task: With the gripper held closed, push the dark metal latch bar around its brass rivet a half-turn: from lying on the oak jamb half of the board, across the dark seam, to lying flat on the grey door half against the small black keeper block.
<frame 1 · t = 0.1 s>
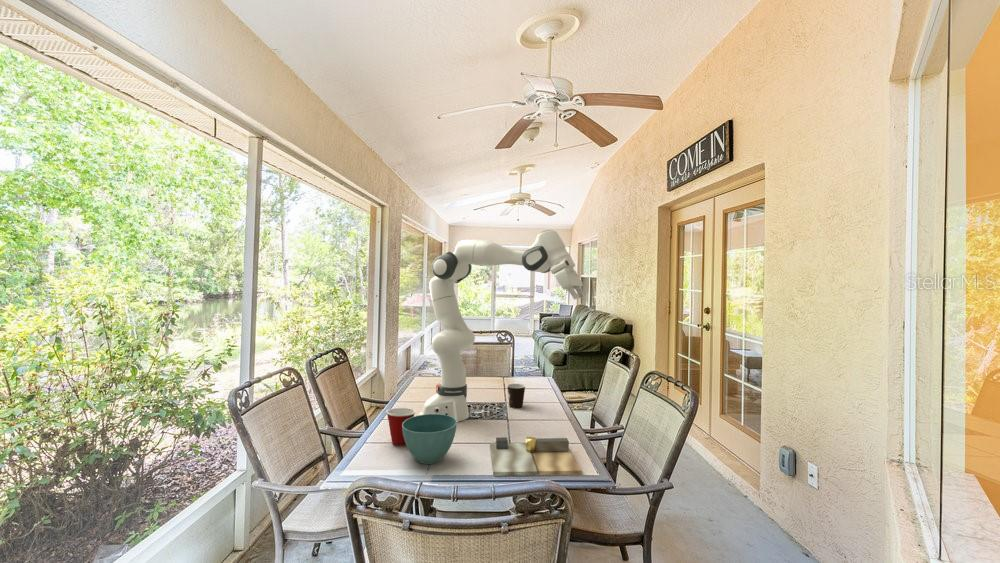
hand: (579, 298, 155), 54 cm above the table, tool tilted 30°, fingers open, 8 cm apart
keeper: (501, 450, 143), resting on door board
latch bar: (546, 444, 140), point 3 cm above the table, hinge at 0.0°
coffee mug: (516, 406, 195), on the table
plastic cup: (400, 443, 149), on the table
plant pot: (429, 459, 136), on the table
door board: (532, 459, 136), on the table
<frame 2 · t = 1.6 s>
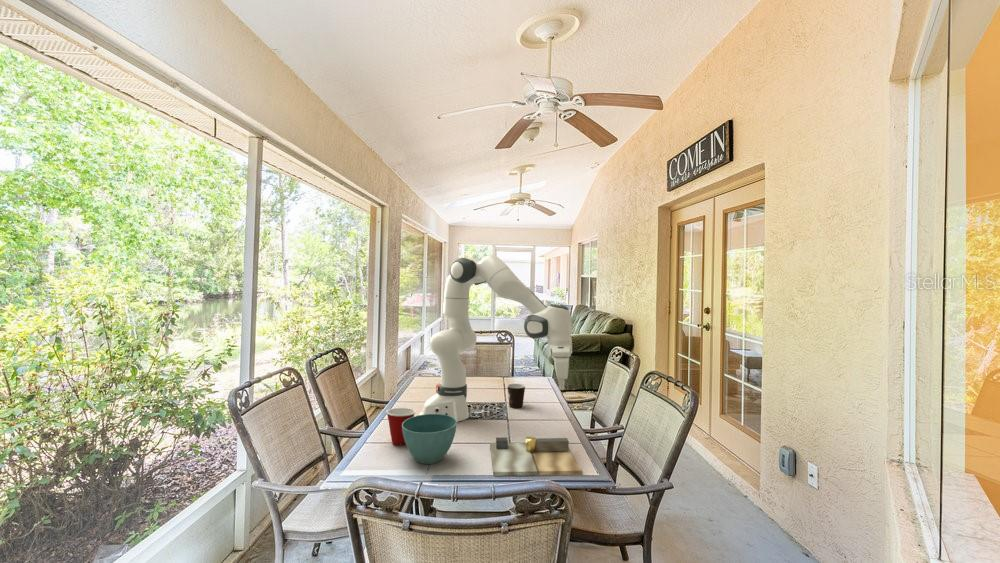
hand: (561, 386, 147), 22 cm above the table, tool pointing down, fingers open, 8 cm apart
nothing on the table moved.
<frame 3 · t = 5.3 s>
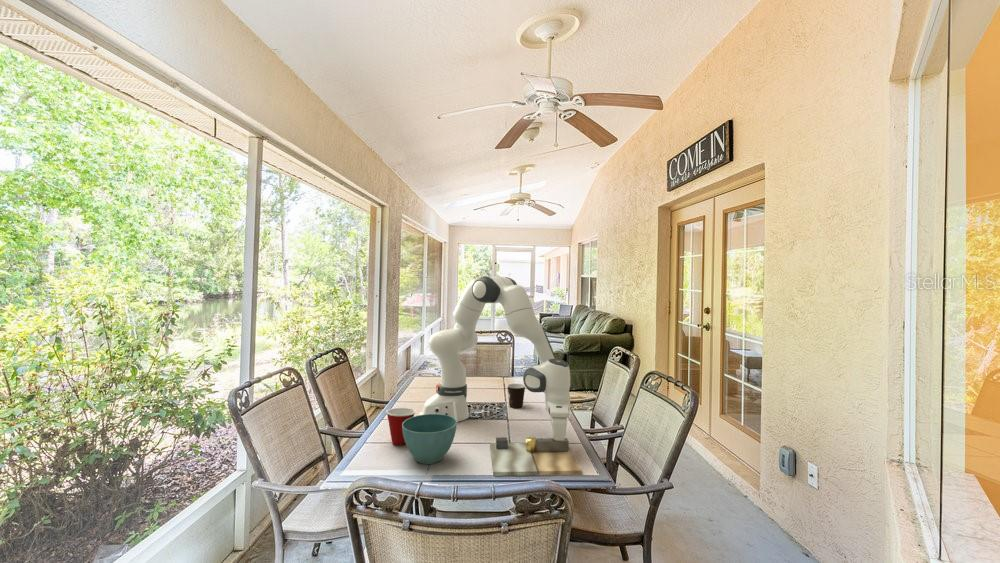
hand: (557, 443, 144), 2 cm above the table, tool pointing down, fingers closed
latch bar: (546, 444, 140), point 4 cm above the table, hinge at 0.0°, touching gripper
everything else where it was.
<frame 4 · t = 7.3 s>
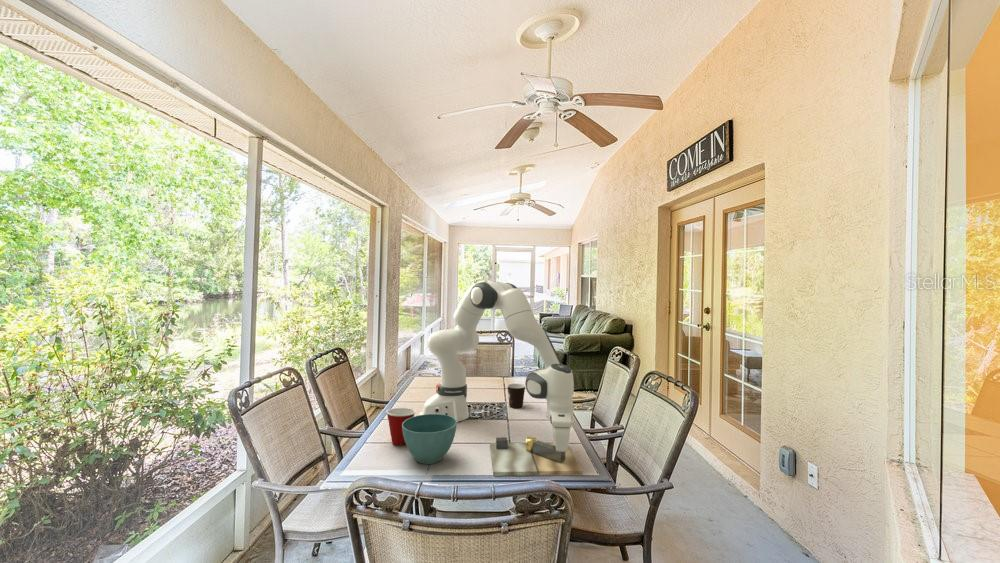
hand: (558, 453, 136), 2 cm above the table, tool pointing down, fingers closed
latch bar: (544, 448, 136), point 4 cm above the table, hinge at 44.6°, touching gripper
everything else where it was.
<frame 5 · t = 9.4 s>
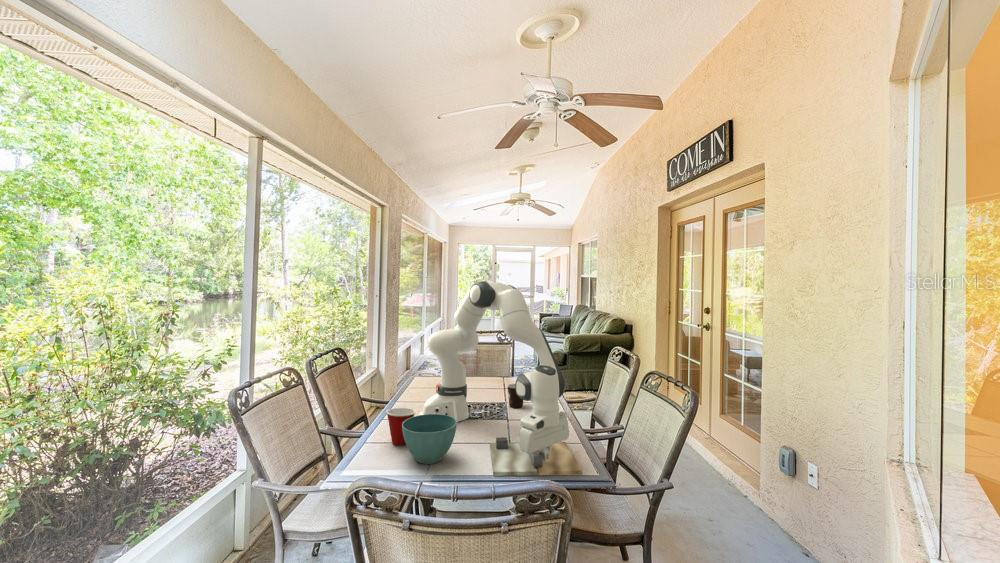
hand: (545, 459, 131), 2 cm above the table, tool pointing down, fingers closed
latch bar: (533, 451, 134), point 4 cm above the table, hinge at 88.6°, touching gripper
everything else where it was.
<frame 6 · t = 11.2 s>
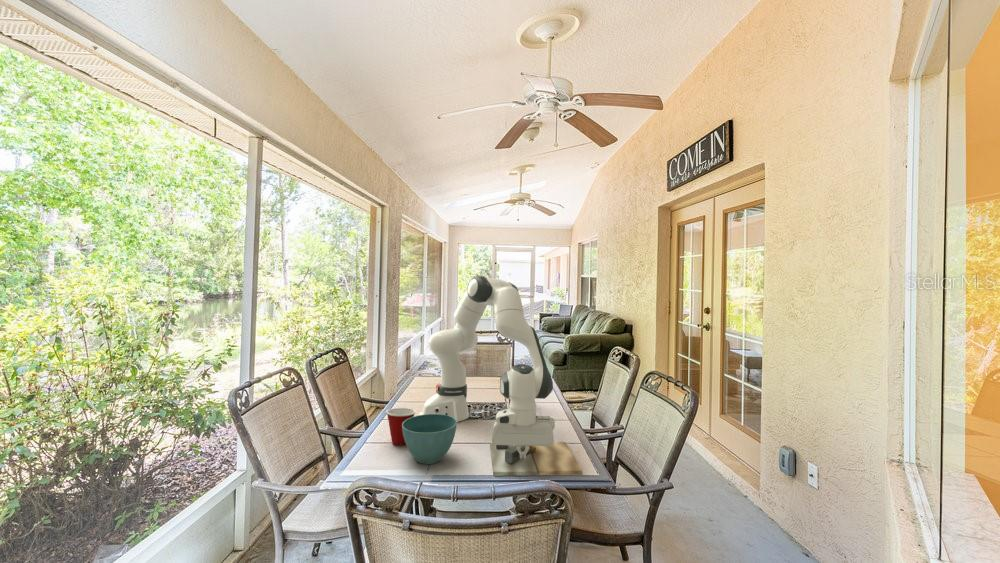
hand: (522, 458, 131), 3 cm above the table, tool pointing down, fingers closed
latch bar: (521, 449, 136), point 4 cm above the table, hinge at 132.7°, touching gripper
everything else where it was.
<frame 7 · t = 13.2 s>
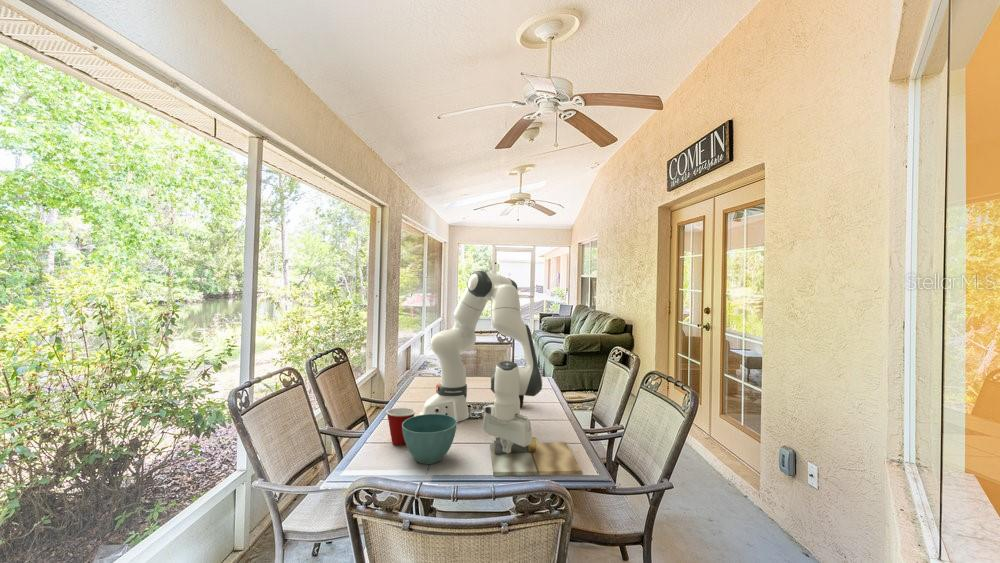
hand: (506, 452, 135), 3 cm above the table, tool pointing down, fingers closed
latch bar: (515, 445, 139), point 4 cm above the table, hinge at 173.7°, touching gripper
everything else where it was.
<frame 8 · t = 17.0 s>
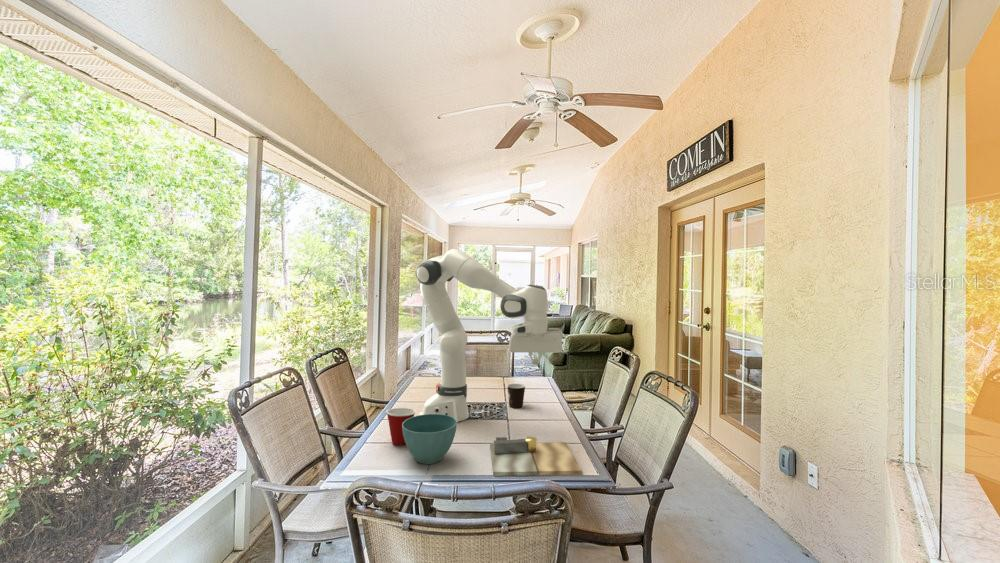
hand: (535, 364, 152), 29 cm above the table, tool pointing down, fingers closed
latch bar: (515, 445, 139), point 4 cm above the table, hinge at 173.9°
everything else where it was.
at the end: latch bar at +174° (first picture: +0°) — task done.
